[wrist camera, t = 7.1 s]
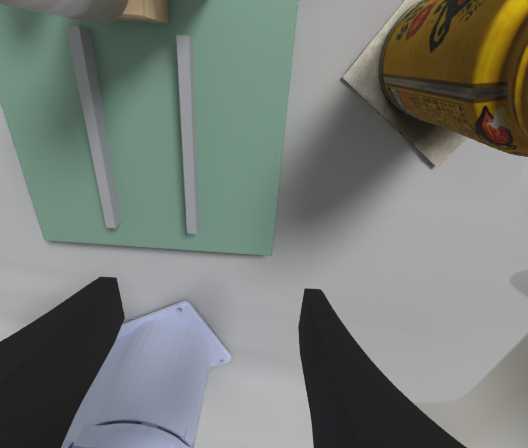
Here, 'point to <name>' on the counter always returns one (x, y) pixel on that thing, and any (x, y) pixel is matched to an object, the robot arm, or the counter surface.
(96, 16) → the grey and tan mallet
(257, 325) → the counter surface
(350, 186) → the counter surface
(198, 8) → the pitch
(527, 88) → the condiment
